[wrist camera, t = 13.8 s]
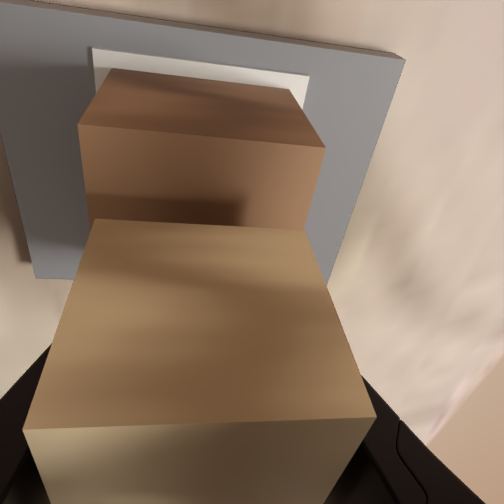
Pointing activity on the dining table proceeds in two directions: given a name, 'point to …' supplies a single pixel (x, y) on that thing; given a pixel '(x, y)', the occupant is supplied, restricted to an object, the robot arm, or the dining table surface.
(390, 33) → the dining table surface
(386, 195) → the dining table surface
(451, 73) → the dining table surface
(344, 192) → the base board
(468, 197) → the dining table surface
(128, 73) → the walnut block
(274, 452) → the maple cube
